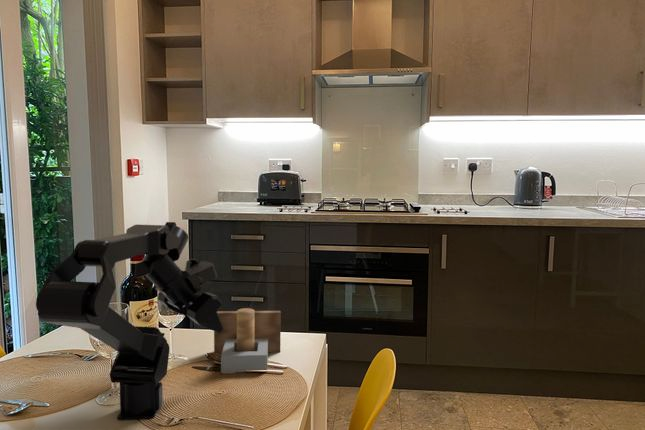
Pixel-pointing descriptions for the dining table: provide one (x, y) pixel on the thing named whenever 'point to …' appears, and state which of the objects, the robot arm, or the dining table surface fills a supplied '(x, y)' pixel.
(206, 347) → the dining table surface
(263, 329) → the backstop board
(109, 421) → the dining table surface
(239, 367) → the socket block
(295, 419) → the dining table surface
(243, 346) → the dowel
